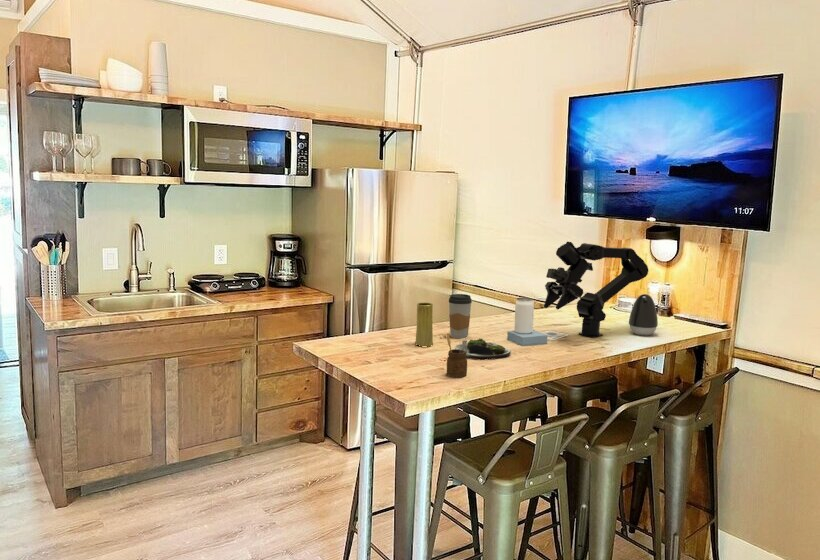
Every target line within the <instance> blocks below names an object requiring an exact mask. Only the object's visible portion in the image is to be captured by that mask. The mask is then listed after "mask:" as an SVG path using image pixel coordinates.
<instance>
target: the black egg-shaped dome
mask: <svg viewBox="0 0 820 560" xmlns="http://www.w3.org/2000/svg"><path fill="white" fill-rule="evenodd" d="M658 319H659V318H658V312H657V308H656V304H655V301H654V300H653V298H652V296H650V295H649V294H648V293H647V294H646V293H645V294H644V293H642V294H640V295H638V297H637V298H636V300H635V301H634V303H633V305H632V309H631V311H630V314H629V319H628V325H629V329H630V330H631V332H632V333H633V334H635V335H637V336H643V335H644V336H650V335H653V334H654V333H655V332H656V329H657V327H658V325H659V324H658V322H659V321H658Z"/></svg>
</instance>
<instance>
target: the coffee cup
mask: <svg viewBox="0 0 820 560" xmlns="http://www.w3.org/2000/svg"><path fill="white" fill-rule="evenodd" d="M472 303H473V302H472V297H471V295H469V294H465V293H454V294H452V293H451V294H450V295H449V298H448V306H449V307H448V308H449V309H448V310H449V315H448V317H449V318H448V319H449V335H450V337H451V336H452V337H451V338H453V337H454V338H453V339H466V337H467V338H468V337H469V336H468V335H469V329H470V322H471V321H470V320H471V307H472Z"/></svg>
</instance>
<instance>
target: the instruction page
mask: <svg viewBox="0 0 820 560" xmlns="http://www.w3.org/2000/svg"><path fill="white" fill-rule="evenodd" d="M541 333H543V334H545V335H547V341H556V340H560V339H561V338H564V337H565V338H566V337H568V336H570V334H568V333H563V332H558V331H553V330H546V331H541Z"/></svg>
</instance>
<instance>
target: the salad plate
mask: <svg viewBox="0 0 820 560" xmlns="http://www.w3.org/2000/svg"><path fill="white" fill-rule="evenodd" d="M463 340H464V341H463ZM463 340H461V343H460V344H459V343H458V344H456V345H455V346H454V349H461V348H462V349H461V350H464V351H466V358H467V359H470V358H471V359H472V360H477V359H480V361H481V360H484V361H486V360H485V359H488V360H497V359H504V358H507V357H508V356H510V355H511V349H509V348H508V347H507V348H506V347H504V346H503V345H500V344H498V343H496V342H489V341H487V342H486V341H485V340H484V339H482V338H477V339H474V338H471V339H470V340H467V339H463ZM462 343H463V344H462ZM464 343H466V344H464ZM459 345H460V346H459ZM466 345H467V346H466ZM463 347H464V348H465V349H464V348H463ZM471 359H470V360H471Z"/></svg>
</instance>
